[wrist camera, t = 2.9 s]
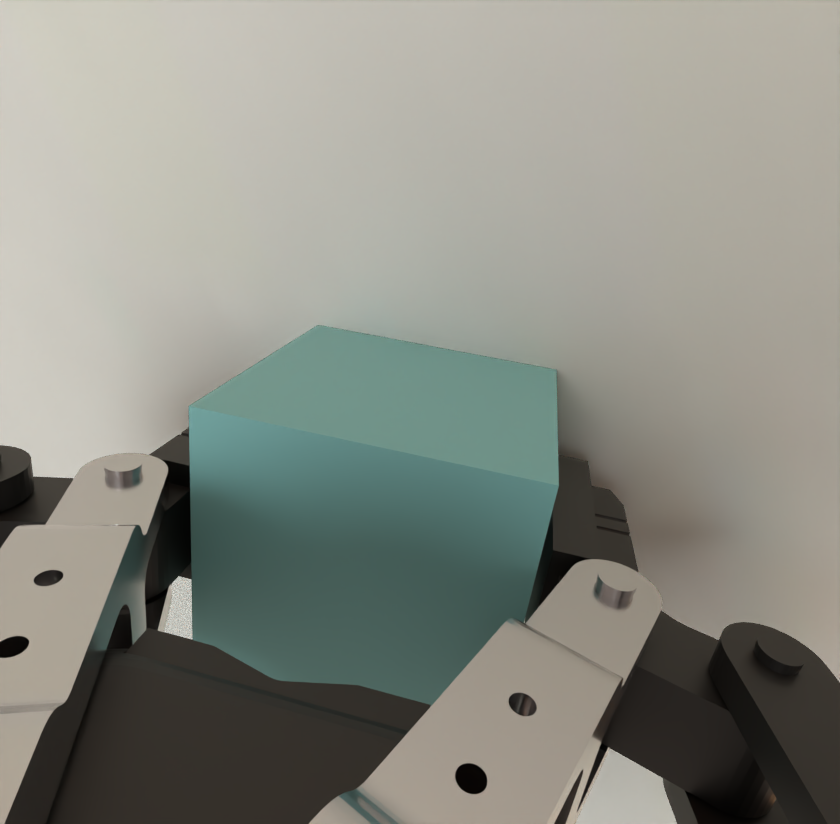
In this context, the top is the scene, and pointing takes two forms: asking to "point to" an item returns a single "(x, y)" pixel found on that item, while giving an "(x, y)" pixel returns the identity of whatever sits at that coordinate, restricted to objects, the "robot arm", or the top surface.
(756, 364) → the top surface
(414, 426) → the teal block
